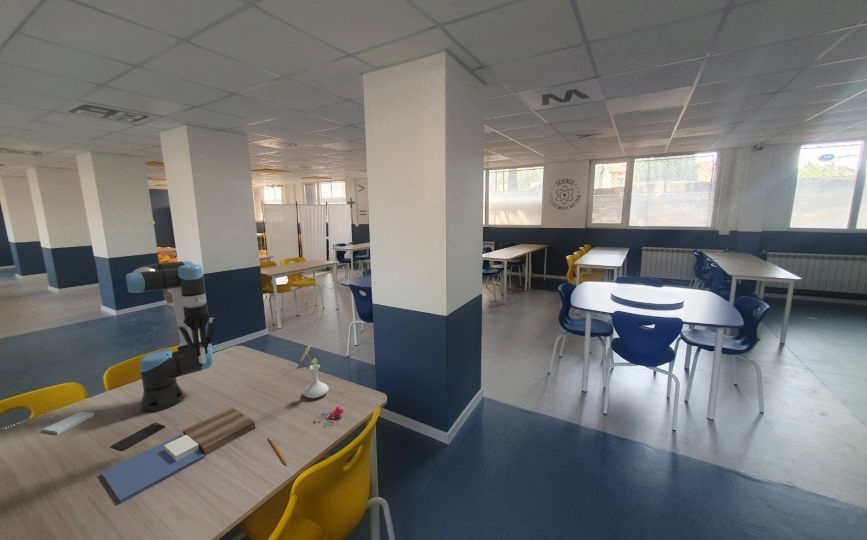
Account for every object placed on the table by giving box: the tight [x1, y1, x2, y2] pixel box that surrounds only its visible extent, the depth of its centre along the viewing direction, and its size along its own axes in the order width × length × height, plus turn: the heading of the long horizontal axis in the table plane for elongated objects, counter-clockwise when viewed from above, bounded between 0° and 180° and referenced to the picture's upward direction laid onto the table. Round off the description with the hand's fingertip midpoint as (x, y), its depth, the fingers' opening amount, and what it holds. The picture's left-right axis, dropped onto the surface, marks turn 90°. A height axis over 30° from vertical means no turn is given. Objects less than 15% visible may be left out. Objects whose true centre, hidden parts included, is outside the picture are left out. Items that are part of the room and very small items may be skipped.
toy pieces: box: [317, 405, 345, 426], centre depth 139 cm, size 12×11×4 cm
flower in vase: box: [299, 345, 330, 399], centre depth 156 cm, size 13×11×25 cm
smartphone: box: [110, 422, 166, 452], centre depth 130 cm, size 7×1×15 cm
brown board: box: [182, 407, 256, 456], centre depth 131 cm, size 18×18×3 cm
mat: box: [100, 434, 206, 504], centre depth 114 cm, size 20×22×1 cm
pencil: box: [267, 437, 288, 466], centre depth 121 cm, size 1×1×19 cm
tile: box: [164, 435, 199, 461], centre depth 120 cm, size 10×7×2 cm
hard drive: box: [41, 411, 96, 435], centre depth 138 cm, size 2×8×12 cm
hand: (202, 362), depth 133 cm, fingers closed
